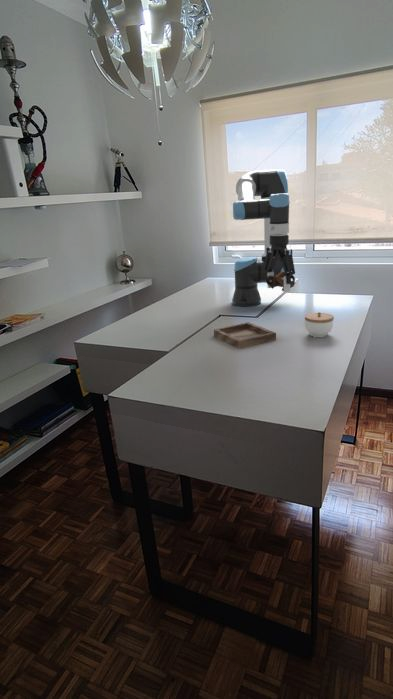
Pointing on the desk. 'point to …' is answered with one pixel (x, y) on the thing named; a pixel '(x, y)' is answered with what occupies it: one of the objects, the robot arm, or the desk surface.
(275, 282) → the broken clay pot
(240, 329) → the walnut tray
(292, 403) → the desk surface
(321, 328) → the lidded jar
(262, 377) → the desk surface
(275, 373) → the desk surface
